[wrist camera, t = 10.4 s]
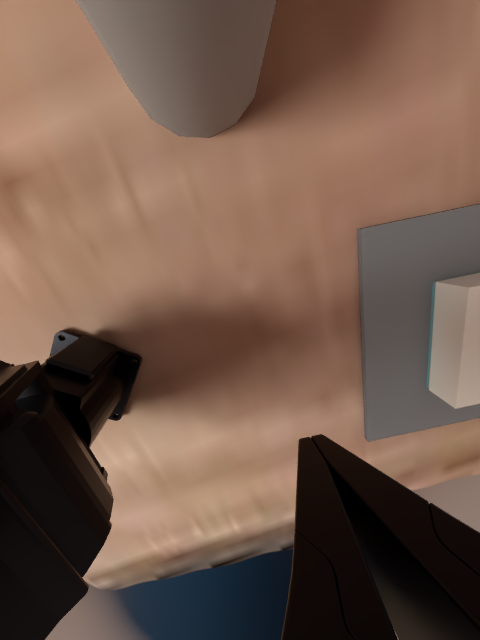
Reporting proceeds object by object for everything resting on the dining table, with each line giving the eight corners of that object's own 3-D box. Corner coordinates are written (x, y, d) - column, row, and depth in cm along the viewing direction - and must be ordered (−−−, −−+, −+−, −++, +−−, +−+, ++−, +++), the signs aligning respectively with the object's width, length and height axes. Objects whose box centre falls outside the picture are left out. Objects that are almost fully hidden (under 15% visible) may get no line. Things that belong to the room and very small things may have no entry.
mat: (365, 437, 24) (367, 441, 24) (357, 229, 18) (361, 228, 17) (557, 396, 24) (563, 399, 24) (617, 175, 18) (628, 173, 17)
